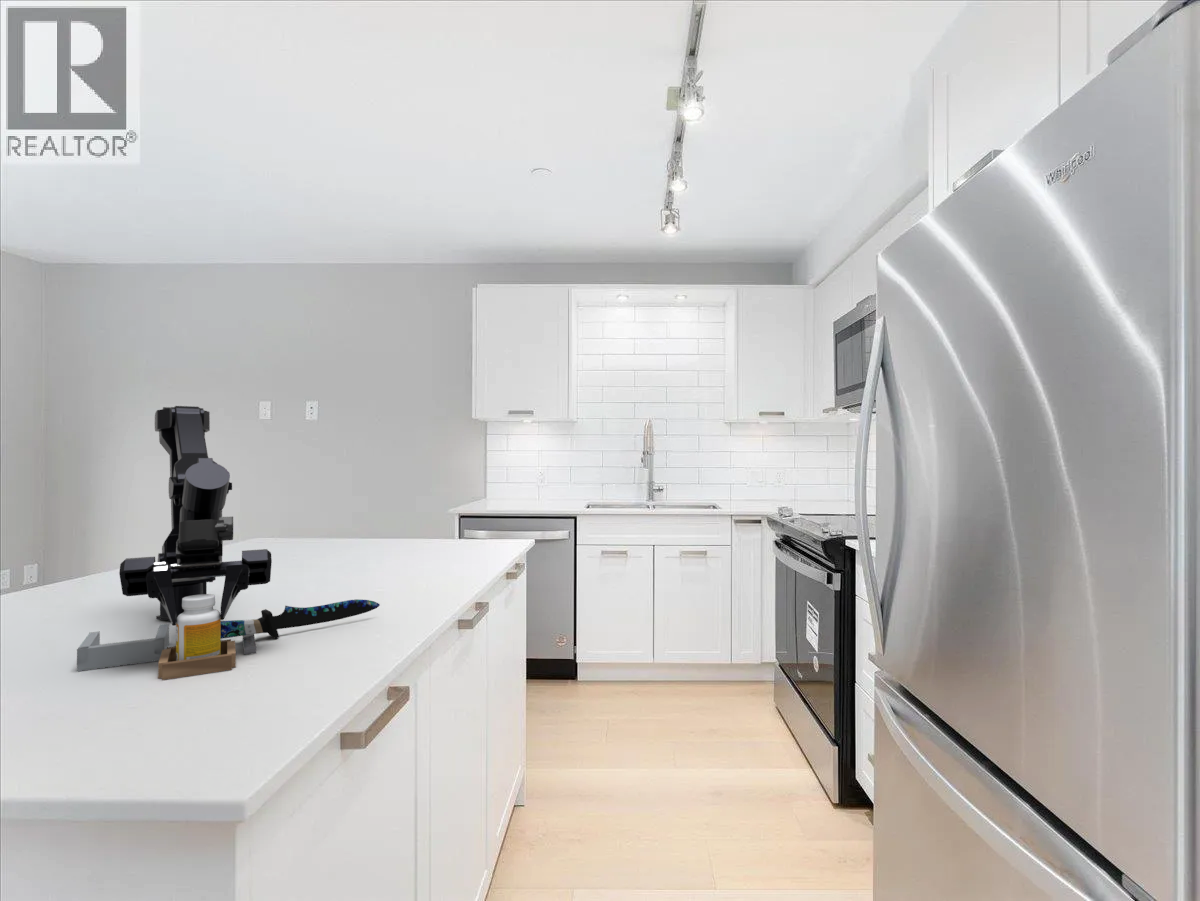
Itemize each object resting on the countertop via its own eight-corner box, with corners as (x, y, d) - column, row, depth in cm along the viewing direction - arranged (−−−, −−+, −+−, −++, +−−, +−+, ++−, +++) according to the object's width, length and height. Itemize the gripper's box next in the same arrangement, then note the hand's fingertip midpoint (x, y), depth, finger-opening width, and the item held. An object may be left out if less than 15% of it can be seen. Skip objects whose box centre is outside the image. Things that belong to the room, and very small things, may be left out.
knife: (186, 653, 97) (187, 623, 97) (182, 648, 99) (183, 618, 99) (385, 622, 117) (386, 597, 117) (378, 619, 119) (379, 594, 119)
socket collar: (163, 661, 93) (163, 647, 93) (234, 652, 98) (234, 638, 98) (157, 680, 86) (157, 665, 86) (235, 669, 90) (235, 654, 90)
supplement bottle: (229, 661, 94) (229, 594, 94) (195, 673, 88) (195, 602, 88) (201, 657, 95) (201, 591, 95) (166, 669, 90) (166, 599, 90)
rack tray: (89, 652, 98) (89, 632, 98) (169, 642, 103) (169, 623, 103) (76, 671, 89) (76, 649, 89) (164, 659, 94) (164, 639, 94)
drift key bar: (242, 641, 104) (242, 635, 104) (253, 639, 104) (253, 633, 104) (243, 654, 97) (244, 647, 97) (256, 653, 98) (256, 646, 98)
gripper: (121, 501, 91) (109, 595, 81) (270, 496, 100) (275, 580, 90) (128, 550, 97) (117, 642, 88) (267, 541, 107) (272, 624, 97)
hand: (198, 621), depth 91 cm, fingers closed on supplement bottle, 5 cm apart
